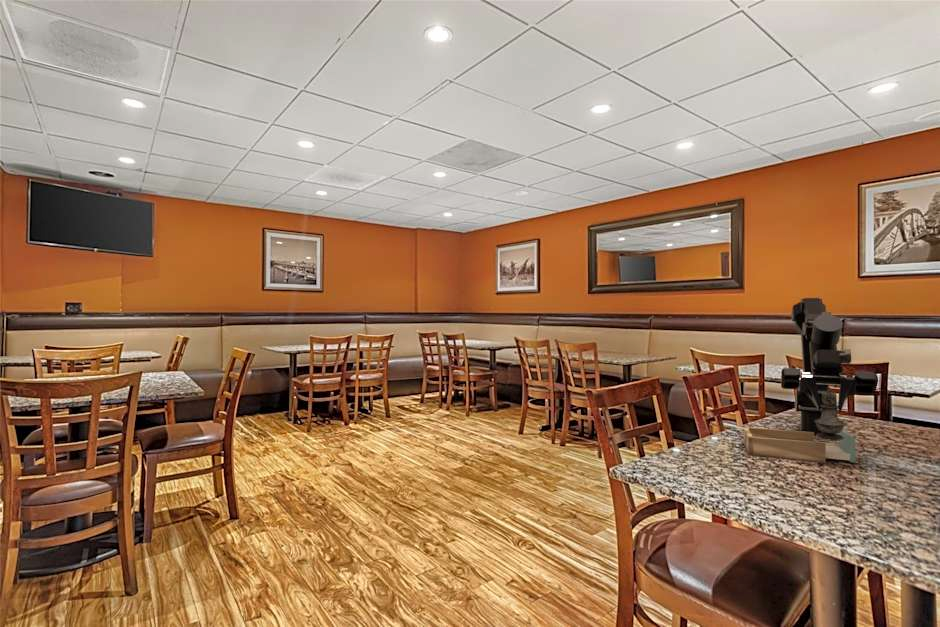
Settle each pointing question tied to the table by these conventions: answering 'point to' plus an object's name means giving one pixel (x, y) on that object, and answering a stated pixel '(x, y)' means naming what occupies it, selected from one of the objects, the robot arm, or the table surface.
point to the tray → (841, 448)
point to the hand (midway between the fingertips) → (829, 409)
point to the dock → (783, 444)
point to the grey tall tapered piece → (829, 417)
